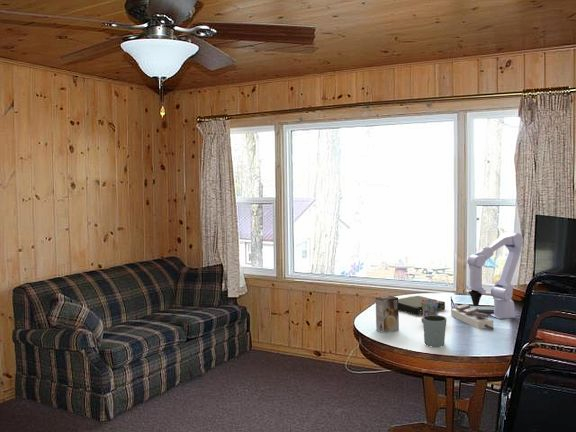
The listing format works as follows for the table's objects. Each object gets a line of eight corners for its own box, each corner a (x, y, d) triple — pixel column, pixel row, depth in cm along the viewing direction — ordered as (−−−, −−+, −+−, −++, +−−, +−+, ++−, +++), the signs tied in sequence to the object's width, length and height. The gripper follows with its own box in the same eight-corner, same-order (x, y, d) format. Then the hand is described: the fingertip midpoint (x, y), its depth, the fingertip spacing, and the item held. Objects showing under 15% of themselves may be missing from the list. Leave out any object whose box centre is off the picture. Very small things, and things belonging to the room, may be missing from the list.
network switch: (421, 317, 299) (421, 307, 299) (387, 309, 318) (387, 300, 317) (448, 309, 314) (448, 300, 314) (414, 302, 332) (414, 294, 332)
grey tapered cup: (431, 339, 259) (431, 313, 258) (451, 344, 251) (451, 317, 250) (418, 344, 252) (418, 317, 251) (437, 349, 245) (437, 322, 244)
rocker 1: (466, 306, 298) (465, 303, 298) (470, 307, 294) (469, 305, 294) (455, 309, 297) (455, 306, 296) (459, 311, 293) (459, 308, 292)
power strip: (465, 314, 301) (465, 307, 301) (499, 330, 271) (499, 322, 270) (451, 315, 300) (451, 308, 299) (484, 331, 269) (484, 323, 269)
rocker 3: (483, 315, 282) (483, 313, 282) (487, 317, 278) (488, 314, 278) (472, 314, 281) (473, 311, 281) (476, 316, 277) (477, 313, 277)
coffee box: (391, 327, 281) (390, 295, 279) (399, 330, 275) (398, 297, 274) (375, 330, 276) (375, 297, 275) (383, 333, 271) (383, 299, 269)
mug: (438, 324, 283) (437, 303, 282) (419, 323, 287) (418, 302, 286) (441, 318, 294) (441, 298, 293) (422, 317, 298) (422, 297, 297)
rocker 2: (474, 309, 290) (473, 306, 290) (478, 311, 286) (478, 308, 286) (463, 313, 289) (463, 310, 289) (468, 314, 285) (467, 312, 285)
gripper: (461, 276, 293) (461, 302, 294) (476, 282, 279) (476, 309, 280) (473, 275, 294) (473, 301, 295) (489, 281, 280) (489, 308, 281)
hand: (475, 305), depth 288 cm, fingers closed
